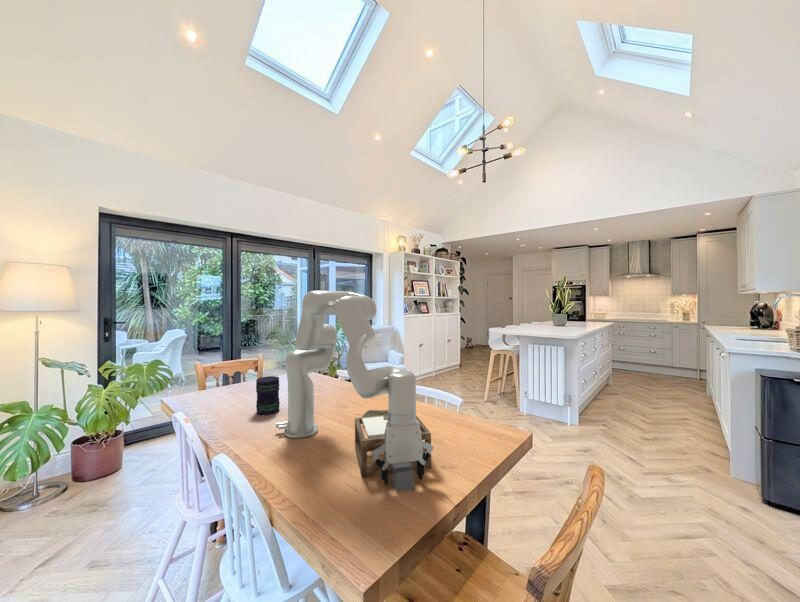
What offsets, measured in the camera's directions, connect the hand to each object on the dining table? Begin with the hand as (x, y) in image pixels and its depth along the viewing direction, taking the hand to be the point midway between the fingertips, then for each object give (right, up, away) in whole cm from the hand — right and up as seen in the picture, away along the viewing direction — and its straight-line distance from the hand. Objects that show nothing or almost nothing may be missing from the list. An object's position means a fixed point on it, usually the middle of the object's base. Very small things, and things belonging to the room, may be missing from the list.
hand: (402, 479), depth 88 cm
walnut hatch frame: (-4, -1, +15) cm, 16 cm away
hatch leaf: (-5, +5, +15) cm, 16 cm away
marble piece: (-8, -2, +43) cm, 44 cm away
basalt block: (0, -2, 0) cm, 2 cm away
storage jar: (-61, -2, +58) cm, 84 cm away
